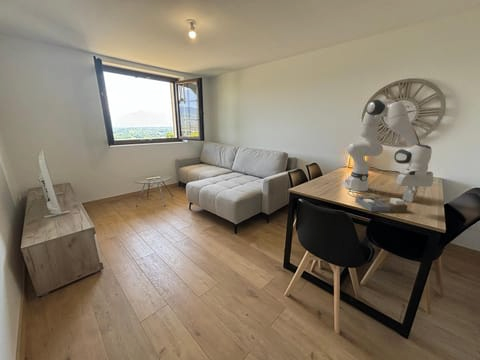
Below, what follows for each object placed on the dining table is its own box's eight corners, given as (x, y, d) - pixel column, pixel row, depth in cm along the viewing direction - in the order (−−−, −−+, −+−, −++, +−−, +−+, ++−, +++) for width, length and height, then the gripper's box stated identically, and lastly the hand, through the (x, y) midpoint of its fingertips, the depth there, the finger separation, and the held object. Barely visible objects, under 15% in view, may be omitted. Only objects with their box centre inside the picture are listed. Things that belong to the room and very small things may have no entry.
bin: (355, 201, 138) (356, 197, 137) (372, 202, 138) (373, 197, 138) (370, 211, 123) (371, 206, 122) (389, 211, 123) (391, 206, 122)
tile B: (389, 201, 128) (390, 198, 128) (397, 201, 129) (397, 198, 128) (395, 204, 124) (396, 201, 123) (403, 204, 124) (404, 201, 123)
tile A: (369, 198, 136) (369, 202, 137) (362, 198, 136) (362, 202, 136) (374, 201, 131) (374, 205, 132) (367, 201, 131) (366, 205, 132)
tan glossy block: (373, 202, 139) (374, 196, 137) (387, 202, 139) (388, 196, 138) (390, 211, 123) (392, 205, 122) (406, 211, 123) (407, 205, 122)
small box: (411, 202, 139) (415, 188, 136) (401, 200, 143) (405, 186, 140) (415, 200, 143) (418, 186, 141) (405, 197, 148) (408, 184, 145)
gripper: (428, 170, 124) (423, 191, 127) (397, 170, 123) (392, 191, 127) (438, 172, 118) (432, 194, 121) (405, 172, 117) (400, 194, 121)
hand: (411, 192), depth 124 cm, fingers closed
